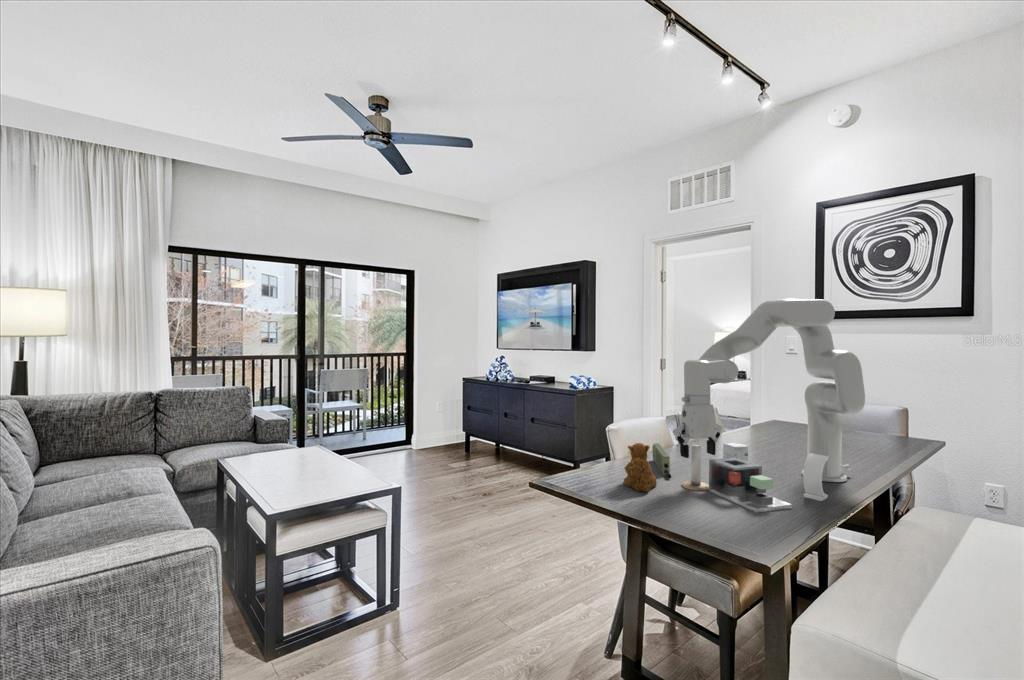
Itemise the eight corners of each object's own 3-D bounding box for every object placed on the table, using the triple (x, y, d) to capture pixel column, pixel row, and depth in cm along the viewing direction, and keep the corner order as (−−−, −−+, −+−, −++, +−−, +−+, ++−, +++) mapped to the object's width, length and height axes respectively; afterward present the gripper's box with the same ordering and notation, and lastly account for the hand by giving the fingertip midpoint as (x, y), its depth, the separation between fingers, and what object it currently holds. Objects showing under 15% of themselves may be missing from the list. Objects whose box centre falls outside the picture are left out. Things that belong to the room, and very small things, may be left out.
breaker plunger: (735, 485, 146) (735, 470, 146) (743, 488, 143) (743, 473, 143) (725, 486, 145) (726, 471, 145) (734, 489, 142) (734, 474, 142)
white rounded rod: (702, 485, 150) (703, 446, 149) (694, 486, 149) (695, 447, 149) (696, 483, 152) (697, 444, 152) (689, 483, 151) (689, 445, 151)
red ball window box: (737, 486, 151) (737, 456, 151) (791, 508, 132) (792, 474, 132) (705, 489, 148) (705, 459, 148) (756, 512, 129) (756, 478, 129)
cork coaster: (698, 481, 155) (698, 480, 155) (715, 489, 148) (715, 487, 148) (676, 484, 153) (676, 482, 153) (693, 491, 145) (693, 489, 145)
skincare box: (733, 467, 173) (733, 446, 173) (722, 463, 179) (722, 443, 179) (748, 466, 175) (748, 446, 174) (736, 462, 180) (737, 442, 180)
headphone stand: (827, 497, 141) (828, 456, 141) (820, 502, 138) (821, 459, 137) (810, 493, 145) (810, 453, 145) (802, 497, 141) (803, 456, 141)
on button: (761, 489, 137) (761, 475, 137) (772, 493, 133) (773, 479, 133) (749, 490, 136) (750, 476, 136) (761, 495, 132) (761, 480, 132)
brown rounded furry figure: (656, 482, 155) (656, 441, 155) (658, 496, 141) (658, 451, 141) (624, 479, 157) (624, 439, 157) (622, 493, 144) (623, 449, 143)
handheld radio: (661, 460, 182) (675, 480, 157) (652, 460, 183) (664, 480, 158) (661, 443, 182) (674, 459, 157) (651, 443, 183) (663, 459, 158)
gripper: (681, 403, 144) (681, 461, 144) (729, 400, 149) (729, 455, 149) (665, 400, 151) (666, 455, 151) (712, 396, 156) (713, 450, 157)
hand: (698, 455), depth 150 cm, fingers open, 9 cm apart
